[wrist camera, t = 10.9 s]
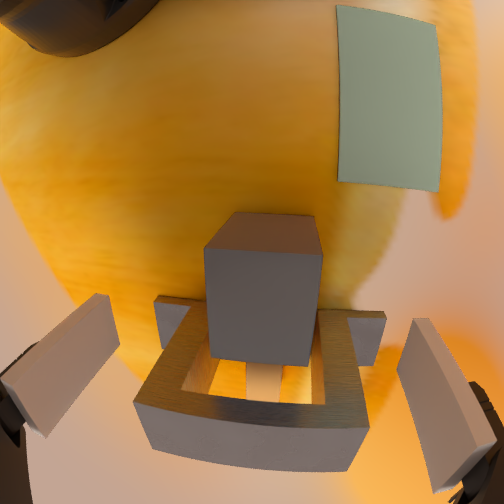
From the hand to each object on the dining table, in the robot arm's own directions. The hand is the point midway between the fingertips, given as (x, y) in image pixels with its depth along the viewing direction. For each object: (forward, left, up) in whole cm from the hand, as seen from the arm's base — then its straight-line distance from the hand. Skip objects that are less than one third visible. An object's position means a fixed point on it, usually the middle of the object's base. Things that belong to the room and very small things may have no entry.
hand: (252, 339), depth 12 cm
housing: (+6, 0, -9) cm, 11 cm away
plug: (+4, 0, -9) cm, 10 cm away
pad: (-11, +7, -9) cm, 16 cm away
